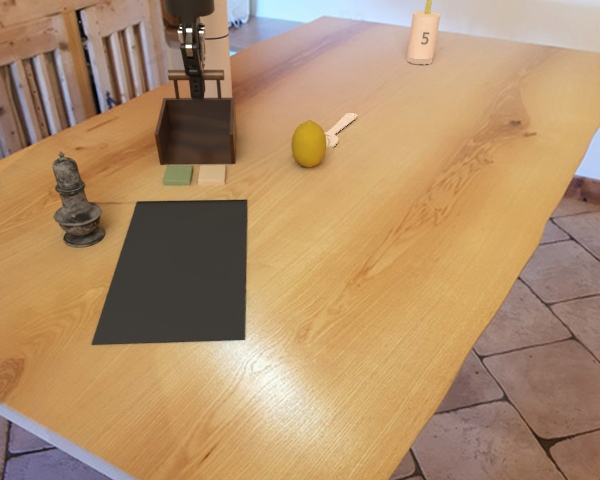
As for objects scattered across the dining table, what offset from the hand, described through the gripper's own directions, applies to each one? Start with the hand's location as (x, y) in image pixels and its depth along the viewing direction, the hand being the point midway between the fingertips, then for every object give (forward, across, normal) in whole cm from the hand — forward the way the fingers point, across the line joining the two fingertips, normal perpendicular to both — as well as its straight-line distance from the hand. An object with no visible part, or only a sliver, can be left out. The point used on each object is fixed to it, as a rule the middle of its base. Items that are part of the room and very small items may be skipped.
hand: (198, 95), depth 92 cm
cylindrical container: (+8, -19, +1) cm, 21 cm away
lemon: (+8, +12, +18) cm, 23 cm away
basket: (+7, +5, 0) cm, 9 cm away
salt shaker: (+8, +30, -14) cm, 34 cm away
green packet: (+6, +15, -3) cm, 17 cm away
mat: (+8, +31, 0) cm, 32 cm away
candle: (+8, -44, +49) cm, 67 cm away
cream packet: (+6, +15, +3) cm, 17 cm away
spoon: (+8, -2, +24) cm, 25 cm away
